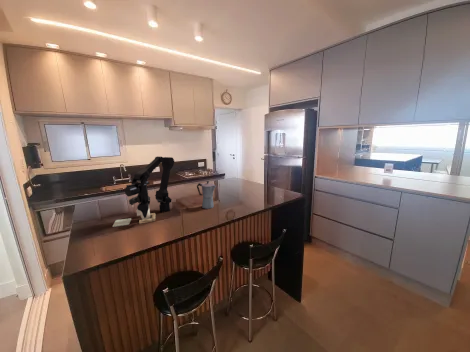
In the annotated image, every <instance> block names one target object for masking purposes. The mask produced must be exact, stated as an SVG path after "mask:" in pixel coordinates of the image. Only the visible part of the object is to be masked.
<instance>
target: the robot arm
mask: <svg viewBox="0 0 470 352" xmlns="http://www.w3.org/2000/svg"><path fill="white" fill-rule="evenodd" d="M160 164H161V167H162V173H161V180H160V186H159V188H158V190H156V191H155V195H154V196H155V200H156V201H157V203H159V211H160V213H166V212H171V208H170V203H172V201H173V200H172V199H173V198H171V197H170V196H169V191H168V187H169V186H168V185H169V180H170V176H171V175H170V174H171V169H172V168H173V167H174V165H175V159H174V157H172V156H171V157H170V156H167V157H166V156H165V157H163V156H155V157H154V159H152V161H150V162H149V164H148V165H146V166H145V167H144V168H143V169H141V170H139V171H137V172H135V173H134V175H133V179H132V181H131V183H130V184H126V185H125V189H124V194H125V196H126V197H132V198H129V199H128V204H129V205H130V206H133V205H135V204H137V203H138V205H137V206H136V210H137V209H138V210H140V211H141V212H142V214H143V216H144V218H146V216H147V213H148V209H149V210H150V203H151V197H150V196H149V191H148V185H150V182H149V181H148V180H149V178H150V176H151V174H152V173H153V172H154V171H155V170H156V169H157V167H158V166H159V165H160ZM135 195H137V196H135Z"/></svg>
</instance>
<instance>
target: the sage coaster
mask: <svg viewBox="0 0 470 352" xmlns="http://www.w3.org/2000/svg"><path fill="white" fill-rule="evenodd" d="M131 222H132V218H123V219H122V218H121V219H115V221H114V222H113V225H112V227H113V228H115V227H123V226H128V225H130V223H131Z"/></svg>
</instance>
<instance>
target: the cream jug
mask: <svg viewBox="0 0 470 352" xmlns="http://www.w3.org/2000/svg"><path fill="white" fill-rule="evenodd" d="M135 211H136V217H139V216H140V217H141V216H142V218H141V220H145V219H151V218H152V217H150V214H151V212H150V208H149V209H148V213H147V216H146V218H144V216H143V214H142V212H141V211H140V210H138V209H137V208H136V210H135Z"/></svg>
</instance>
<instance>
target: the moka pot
mask: <svg viewBox="0 0 470 352" xmlns="http://www.w3.org/2000/svg"><path fill="white" fill-rule="evenodd" d="M200 187H201V191H202V193H201V191H200ZM216 187H217V185H215V184H214V183H210V181H209V180H208V181H206V183H200V182H199V183H198V184H197V185H196V188H197V191H198V194H199V196H203V197H202V205H201V207H202V209H206V210H207V209H209V210H210V209H213V208H214V206H215V205H214V198H213V196H214V191H215V189H216Z"/></svg>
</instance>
